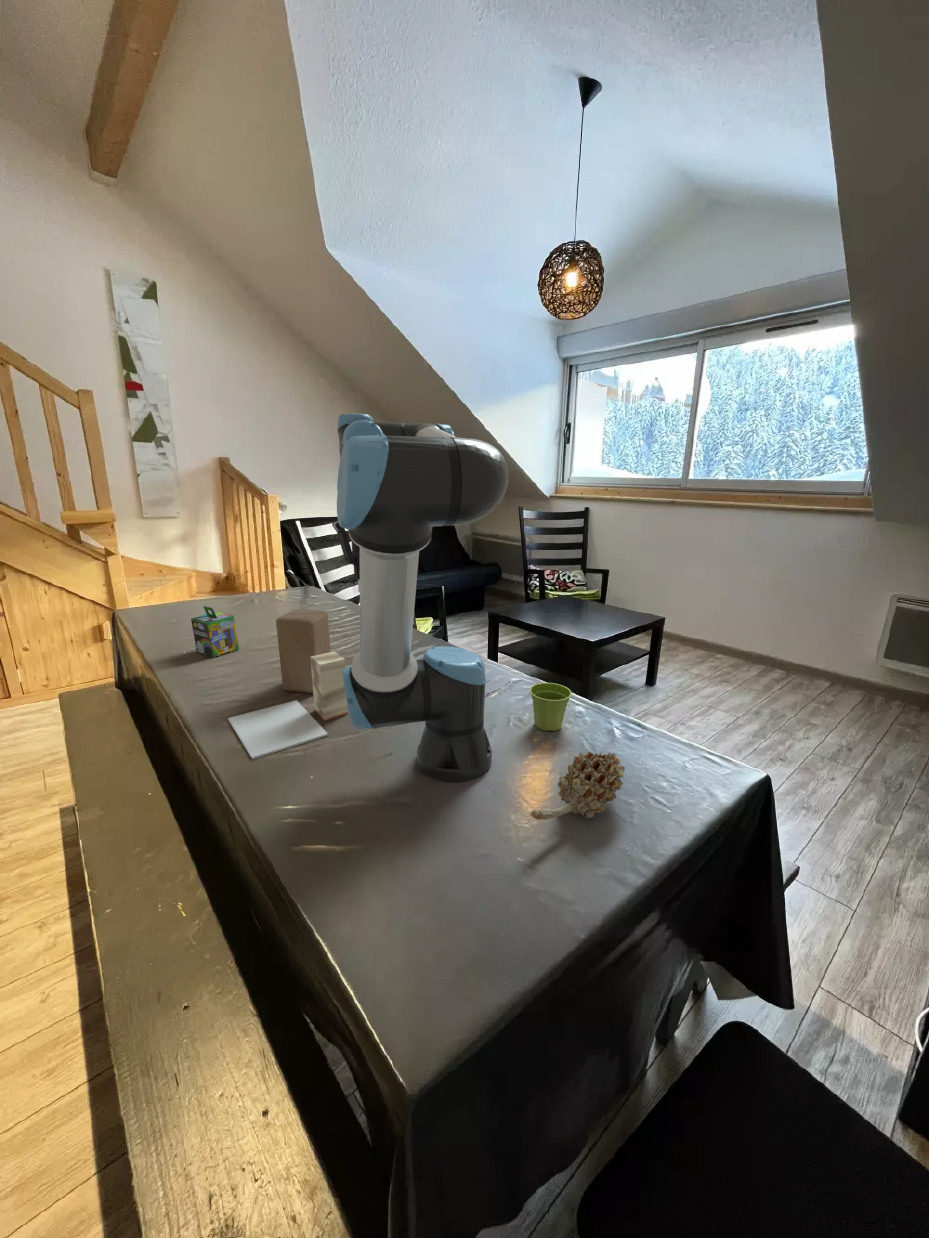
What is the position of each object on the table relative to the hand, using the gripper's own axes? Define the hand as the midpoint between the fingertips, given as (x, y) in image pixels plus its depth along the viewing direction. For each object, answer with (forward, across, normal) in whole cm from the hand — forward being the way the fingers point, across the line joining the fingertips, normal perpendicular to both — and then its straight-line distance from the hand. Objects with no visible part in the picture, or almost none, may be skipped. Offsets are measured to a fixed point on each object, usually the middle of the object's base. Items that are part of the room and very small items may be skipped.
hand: (363, 592), depth 119 cm
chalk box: (+29, +23, -59) cm, 69 cm away
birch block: (+28, +10, 0) cm, 30 cm away
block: (+29, +9, -18) cm, 35 cm away
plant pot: (+29, -28, +35) cm, 53 cm away
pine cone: (+28, -9, +60) cm, 67 cm away
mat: (+28, +23, 0) cm, 36 cm away
